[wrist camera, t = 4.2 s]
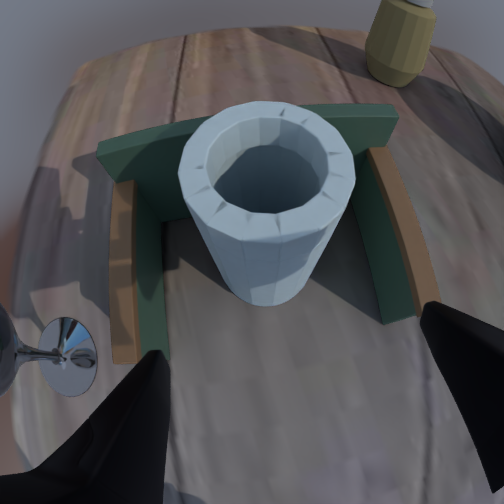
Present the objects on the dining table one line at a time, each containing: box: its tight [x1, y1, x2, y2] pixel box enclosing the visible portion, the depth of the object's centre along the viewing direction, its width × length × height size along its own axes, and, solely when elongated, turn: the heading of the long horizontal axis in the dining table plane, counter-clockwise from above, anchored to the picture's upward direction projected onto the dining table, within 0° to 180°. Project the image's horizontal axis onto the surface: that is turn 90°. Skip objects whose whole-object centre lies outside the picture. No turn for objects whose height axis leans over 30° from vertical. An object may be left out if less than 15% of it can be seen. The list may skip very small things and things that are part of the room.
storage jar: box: [178, 101, 356, 306], centre depth 17 cm, size 7×7×13 cm
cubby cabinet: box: [96, 104, 441, 364], centre depth 18 cm, size 13×19×10 cm
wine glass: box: [0, 303, 97, 397], centre depth 14 cm, size 8×8×15 cm
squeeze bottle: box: [365, 0, 436, 87], centre depth 23 cm, size 8×8×18 cm
